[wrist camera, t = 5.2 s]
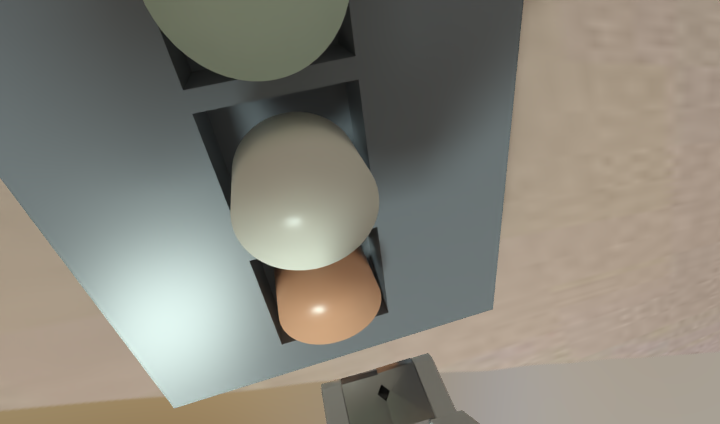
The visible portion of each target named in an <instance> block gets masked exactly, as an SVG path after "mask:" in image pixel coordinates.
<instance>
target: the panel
mask: <svg viewBox="0 0 720 424" xmlns="http://www.w3.org/2000/svg"><path fill="white" fill-rule="evenodd" d="M522 10H523V0H349V3H348V7H347V10H346V14H345V17H344V19H343V22H342V24H341V27H340V29H339V30H338V32H337V34H336V36H335V38H334V39H333V41H332V42H331V43H330V45H329V46H328V48H327V49H326V50H325V51H324V52H323V53H322V54H321V55H320V56H319V57H318V58H317V59H316V60H315V61H314V62H312V63H311V64H310V65H309V66H307V67H305V68H304V69H302V70H300V71H299V72H297V73H294V74H292V75H289V76H287V77H284V78H280V79H276V80H270V81H245V80H237V79H234V78H230V77H226V76H223V75H220V74H218V73H215V72H213V71H211V70H209V69H207V68H205V67H203V66H201V65H200V64H198V63H197V62H195V61H194V60H192V59H191V58H189V57H188V56H187V55H185V54H184V53H183V52H182V51H181V50H180V49H179V48H177V47H176V46H175V45H174V44H173V43H172V42H171V41H170V39H169V38H168V37H167V36H166V35H165V34H164V33H163V31H162V30H161V29H160V27H159V26H158V25H157V23H156V22H155V21H154V19H153V18H152V16H151V14H150V12H149V11H148V9H147V7H146V6H145V4H144V1H143V0H0V178H1V180H2V181H3V182H4V184H5V185H6V186H7V187H8V189H9V190H10V191H11V193H12V194H13V195H14V197H15V198H16V199H17V201H18V202H19V203H20V205H21V206H22V207H23V209H24V210H25V211H26V213H27V214H28V215H29V217H30V218H31V219H32V221H33V222H34V223H35V225H36V226H37V227H38V229H39V230H40V231H41V233H42V234H43V235H44V236H45V238H46V239H47V240H48V242H49V243H50V244H51V246H52V247H53V248H54V250H55V251H56V252H57V254H58V255H59V256H60V258H61V259H62V260H63V262H64V263H65V264H66V266H67V267H68V268H69V270H70V271H71V272H72V274H73V275H74V276H75V278H76V279H77V280H78V282H79V283H80V284H81V285H82V287H83V288H84V289H85V291H86V292H87V293H88V295H89V296H90V297H91V299H92V300H93V301H94V303H95V304H96V305H97V307H98V308H99V309H100V311H101V312H102V313H103V315H104V316H105V317H106V319H107V320H108V321H109V323H110V324H111V325H112V327H113V328H114V329H115V331H116V332H117V333H118V334H119V336H120V337H121V338H122V340H123V341H124V342H125V344H126V345H127V346H128V348H129V349H130V350H131V352H132V353H133V354H134V356H135V357H136V358H137V360H138V361H139V362H140V364H141V365H142V366H143V368H144V369H145V370H146V372H147V373H148V374H149V376H150V377H151V378H152V380H153V381H154V382H155V383H156V385H157V386H158V387H159V389H160V390H161V391H162V393H163V394H164V395H165V397H166V398H167V399H168V401H169V402H170V403H171V405H172V406H173V407H174V408H176V407H180V406H183V405H186V404H189V403H192V402H196V401H199V400H202V399H206V398H209V397H212V396H215V395H218V394H222V393H225V392H228V391H231V390H234V389H238V388H241V387H244V386H247V385H251V384H254V383H257V382H260V381H263V380H267V379H270V378H273V377H276V376H279V375H283V374H286V373H289V372H292V371H296V370H299V369H302V368H305V367H308V366H312V365H315V364H318V363H321V362H324V361H328V360H331V359H334V358H337V357H341V356H344V355H347V354H350V353H353V352H357V351H360V350H363V349H366V348H370V347H373V346H376V345H379V344H382V343H386V342H389V341H392V340H395V339H398V338H402V337H405V336H408V335H411V334H415V333H418V332H421V331H424V330H427V329H431V328H434V327H437V326H440V325H443V324H447V323H450V322H453V321H456V320H460V319H463V318H466V317H469V316H472V315H476V314H479V313H482V312H485V311H488V310H492V309H493V302H494V292H495V282H496V272H497V261H498V251H499V241H500V231H501V221H502V211H503V201H504V191H505V181H506V171H507V161H508V151H509V141H510V131H511V121H512V111H513V101H514V91H515V81H516V71H517V61H518V51H519V41H520V31H521V21H522ZM288 112H307V113H312V114H316V115H319V116H322V117H324V118H326V119H328V120H330V121H332V122H333V123H335V124H336V125H337V126H339V127H340V128H341V129H342V130H343V131H344V132H345V133H346V135H347V136H348V137H349V139H350V140H351V142H352V144H353V145H354V147H355V148H356V150H357V151H358V153H359V155H360V156H361V158H362V159H363V161H364V162H365V164H366V166H367V167H368V169H369V170H370V172H371V174H372V176H373V177H374V179H375V182H376V185H377V188H378V193H379V211H378V215H377V219H376V221H375V224H374V226H373V228H372V230H371V232H370V234H369V235H368V236H367V238H366V239H365V240H364V241H363V243H362V244H361V245H360V246H361V247H362V249H363V252H364V254H365V256H366V259H367V261H368V263H369V266H370V268H371V270H372V272H373V275H374V277H375V279H376V282H377V284H378V286H379V289H380V292H381V305H380V308H379V310H378V313H377V314H376V316H375V318H374V319H373V320H372V321H371V323H370V324H369V325H368V326H367V327H365V328H364V329H363V330H362V331H360V332H359V333H357V334H356V335H354V336H352V337H350V338H348V339H345V340H342V341H339V342H336V343H331V344H322V345H315V344H307V343H303V342H300V341H297V340H295V339H293V338H292V337H290V336H289V335H288V334H287V333H286V332H285V331H284V330H283V328H282V326H281V324H280V321H279V314H278V305H277V296H276V287H275V278H274V267H273V266H270V265H268V264H266V263H263V262H261V261H260V260H258V259H256V258H255V257H254V256H252V255H251V254H250V253H249V252H248V251H247V250H246V249H245V248H244V247H243V246H242V245H241V243H240V242H239V240H238V239H237V237H236V235H235V233H234V230H233V227H232V224H231V216H230V209H231V182H232V163H233V158H234V155H235V152H236V149H237V147H238V145H239V143H240V142H241V140H242V139H243V137H244V136H245V135H246V134H247V133H248V132H249V131H250V130H251V129H252V128H253V127H254V126H256V125H257V124H258V123H260V122H262V121H263V120H265V119H267V118H270V117H272V116H275V115H278V114H282V113H288Z"/></svg>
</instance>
